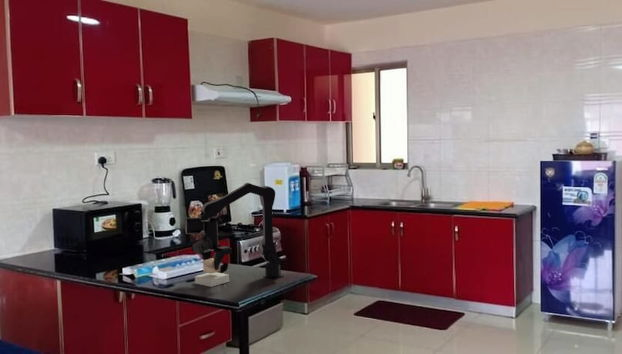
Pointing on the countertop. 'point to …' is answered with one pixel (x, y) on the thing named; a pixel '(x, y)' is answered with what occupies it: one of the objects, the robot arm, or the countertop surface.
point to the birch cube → (209, 266)
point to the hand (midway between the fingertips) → (212, 269)
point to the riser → (211, 279)
